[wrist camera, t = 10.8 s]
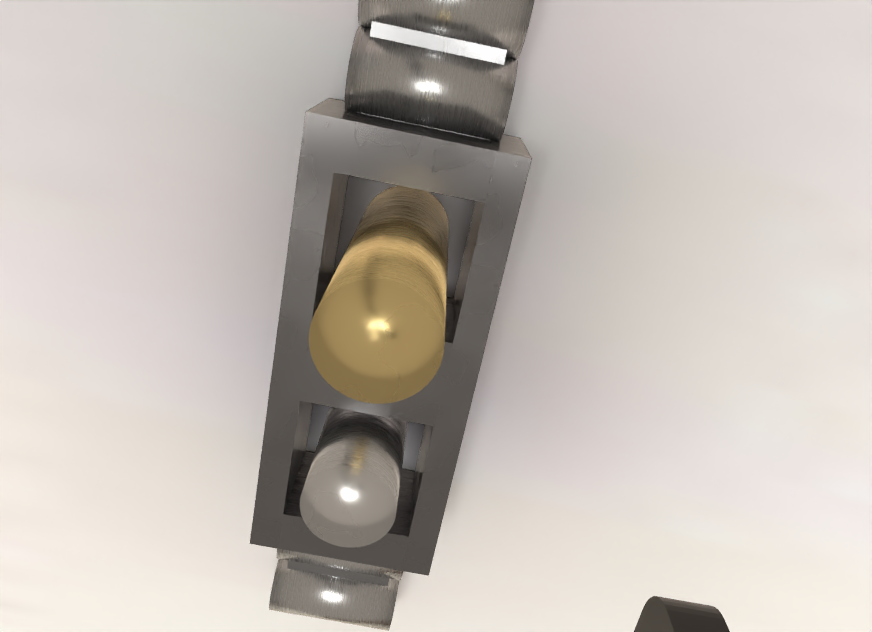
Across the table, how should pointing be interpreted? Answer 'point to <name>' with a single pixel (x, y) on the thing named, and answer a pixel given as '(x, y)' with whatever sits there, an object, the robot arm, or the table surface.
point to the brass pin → (386, 301)
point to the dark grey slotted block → (465, 314)
